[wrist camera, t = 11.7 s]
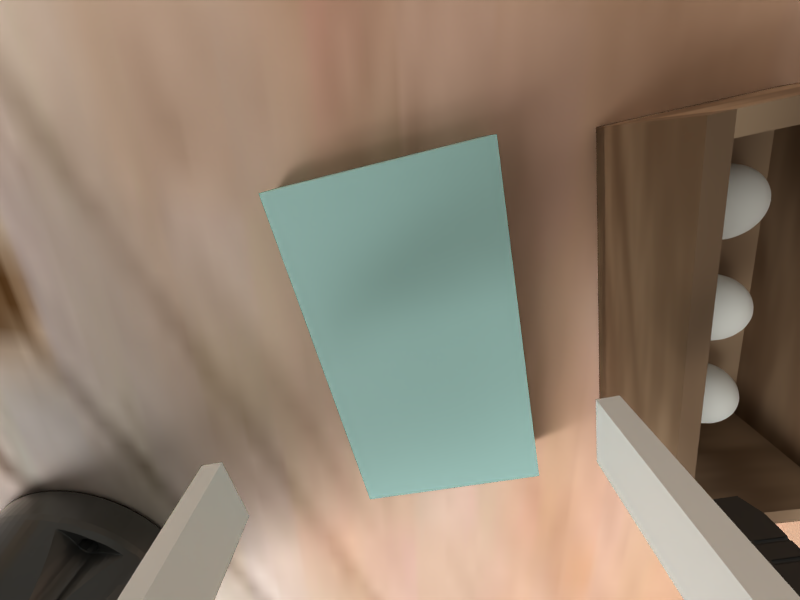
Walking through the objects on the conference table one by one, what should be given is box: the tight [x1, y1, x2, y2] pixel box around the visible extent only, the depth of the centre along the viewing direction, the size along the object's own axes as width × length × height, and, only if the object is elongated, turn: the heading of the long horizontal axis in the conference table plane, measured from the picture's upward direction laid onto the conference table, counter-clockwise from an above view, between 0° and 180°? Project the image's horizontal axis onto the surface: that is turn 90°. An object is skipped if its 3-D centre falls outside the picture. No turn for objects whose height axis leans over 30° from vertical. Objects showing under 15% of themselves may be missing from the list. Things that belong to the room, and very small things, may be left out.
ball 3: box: [701, 363, 739, 423], centre depth 20 cm, size 3×3×3 cm
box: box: [596, 83, 800, 523], centre depth 17 cm, size 8×18×7 cm, turn 12°
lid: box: [259, 134, 539, 499], centre depth 21 cm, size 10×19×3 cm, turn 13°
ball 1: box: [722, 164, 771, 240], centre depth 16 cm, size 3×3×3 cm
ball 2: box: [711, 275, 754, 340], centre depth 18 cm, size 3×3×3 cm
